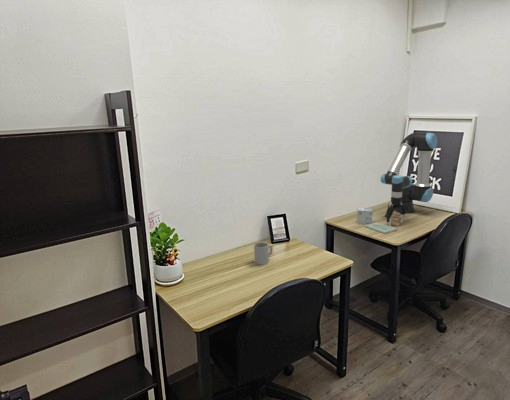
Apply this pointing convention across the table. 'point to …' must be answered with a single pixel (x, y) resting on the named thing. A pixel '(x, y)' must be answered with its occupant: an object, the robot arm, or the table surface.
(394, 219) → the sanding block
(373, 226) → the board
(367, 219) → the light bulb box
